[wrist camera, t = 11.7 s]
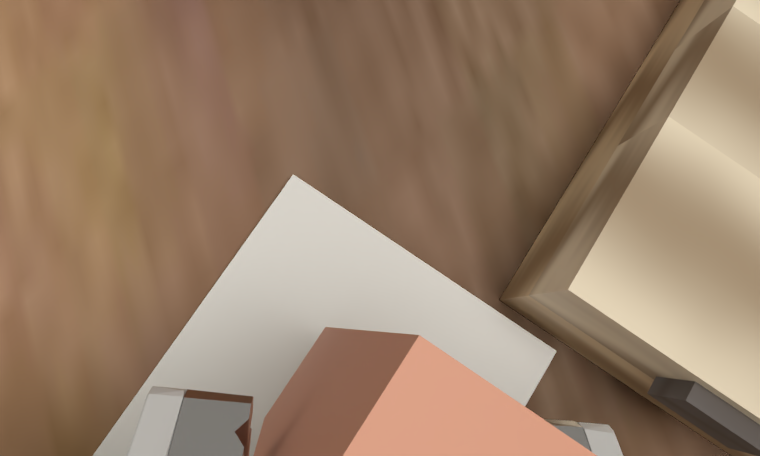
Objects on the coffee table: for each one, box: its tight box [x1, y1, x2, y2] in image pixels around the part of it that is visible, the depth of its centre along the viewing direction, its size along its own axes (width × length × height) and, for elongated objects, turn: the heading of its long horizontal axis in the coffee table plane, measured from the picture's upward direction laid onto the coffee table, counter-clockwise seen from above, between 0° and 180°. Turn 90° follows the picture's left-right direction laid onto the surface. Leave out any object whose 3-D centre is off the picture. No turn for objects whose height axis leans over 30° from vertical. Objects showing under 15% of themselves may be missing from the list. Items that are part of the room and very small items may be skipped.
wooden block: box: [253, 327, 597, 456], centre depth 11 cm, size 3×3×14 cm
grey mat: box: [93, 175, 557, 456], centre depth 22 cm, size 11×11×1 cm
